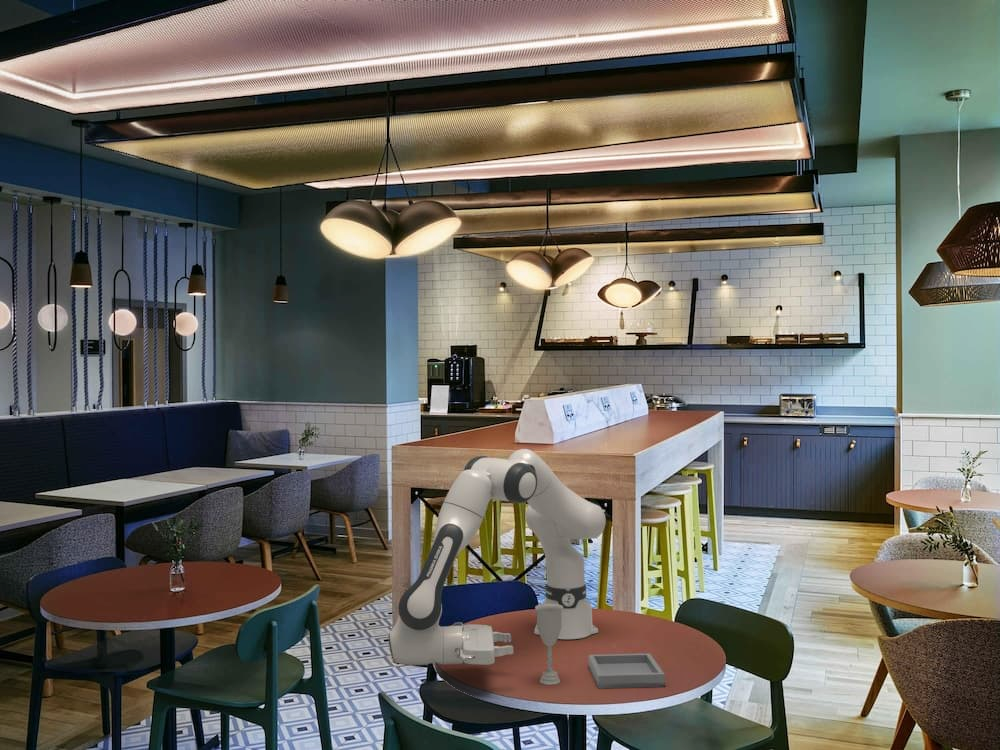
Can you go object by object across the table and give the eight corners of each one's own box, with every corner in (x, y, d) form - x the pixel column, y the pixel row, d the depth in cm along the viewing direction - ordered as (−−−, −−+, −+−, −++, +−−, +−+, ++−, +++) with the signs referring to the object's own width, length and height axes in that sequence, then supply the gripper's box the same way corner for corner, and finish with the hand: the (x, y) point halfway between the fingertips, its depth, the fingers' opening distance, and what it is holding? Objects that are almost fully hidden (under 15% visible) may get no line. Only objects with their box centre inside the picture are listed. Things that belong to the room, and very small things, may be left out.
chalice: (547, 674, 211) (546, 602, 211) (569, 679, 207) (569, 606, 207) (529, 682, 205) (529, 608, 206) (552, 688, 201) (551, 612, 201)
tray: (588, 666, 217) (588, 654, 217) (649, 665, 217) (649, 653, 217) (598, 688, 201) (598, 675, 201) (664, 686, 201) (664, 674, 201)
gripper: (455, 645, 195) (514, 643, 196) (455, 620, 215) (509, 619, 216) (455, 672, 195) (514, 670, 196) (456, 645, 215) (510, 643, 216)
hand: (512, 643), depth 206 cm, fingers open, 8 cm apart
